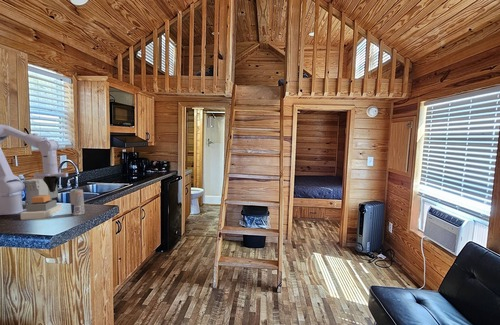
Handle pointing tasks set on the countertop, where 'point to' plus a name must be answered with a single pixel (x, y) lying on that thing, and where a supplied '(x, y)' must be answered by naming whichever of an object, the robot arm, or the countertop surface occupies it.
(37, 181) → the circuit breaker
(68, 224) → the countertop surface
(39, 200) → the button
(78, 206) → the energy drink
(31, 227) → the countertop surface
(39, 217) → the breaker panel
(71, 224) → the countertop surface
